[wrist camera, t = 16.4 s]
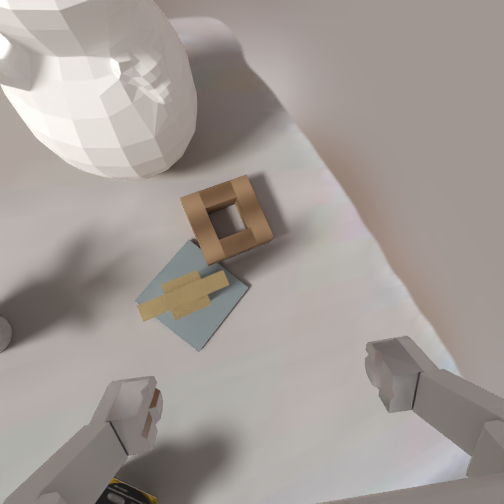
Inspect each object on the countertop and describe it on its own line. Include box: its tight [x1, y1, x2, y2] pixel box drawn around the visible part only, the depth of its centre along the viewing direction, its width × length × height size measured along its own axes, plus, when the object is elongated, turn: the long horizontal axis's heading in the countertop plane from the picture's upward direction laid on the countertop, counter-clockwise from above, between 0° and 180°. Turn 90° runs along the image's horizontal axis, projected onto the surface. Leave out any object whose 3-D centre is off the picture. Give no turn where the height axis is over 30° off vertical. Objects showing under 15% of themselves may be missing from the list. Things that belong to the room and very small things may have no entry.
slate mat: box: [135, 240, 248, 352], centre depth 37 cm, size 11×11×1 cm
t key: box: [138, 270, 229, 322], centre depth 30 cm, size 4×8×14 cm, turn 114°
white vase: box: [0, 0, 197, 180], centre depth 27 cm, size 19×18×25 cm
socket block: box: [180, 175, 274, 266], centre depth 38 cm, size 10×10×3 cm
